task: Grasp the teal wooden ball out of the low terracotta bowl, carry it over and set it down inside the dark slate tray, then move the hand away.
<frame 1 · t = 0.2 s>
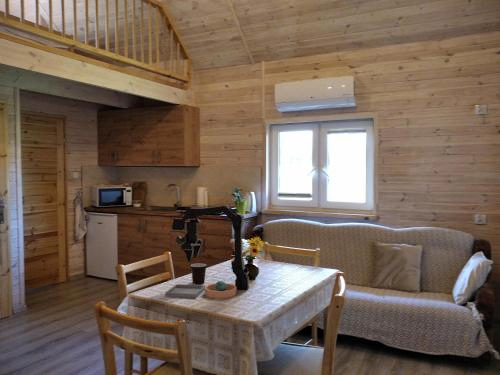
hand: (192, 259, 231), 14 cm above the table, fingers open, 9 cm apart
ball: (220, 286, 217), point 4 cm above the table, touching bowl
tray: (185, 292, 220), on the table
coffee mug: (199, 282, 240), on the table
bowl: (220, 293, 217), on the table
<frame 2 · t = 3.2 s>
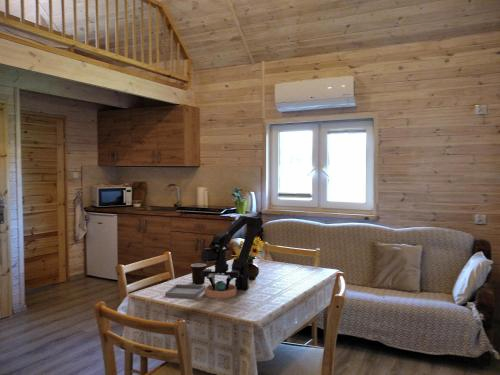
hand: (220, 290, 217), 2 cm above the table, fingers closed on ball, 6 cm apart
ball: (220, 286, 217), point 4 cm above the table, touching bowl, gripper
everything else where it was.
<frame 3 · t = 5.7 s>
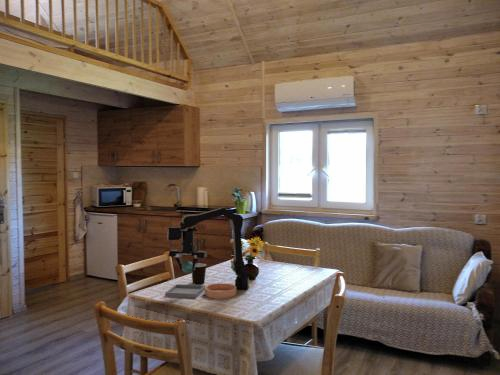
hand: (187, 270, 219), 11 cm above the table, fingers closed on ball, 6 cm apart
ball: (187, 267, 219), point 13 cm above the table, touching gripper
everything else where it was.
when the fingers open (3 cm above the table, at t = 8.2 s): ball drops 2 cm, resting on tray.
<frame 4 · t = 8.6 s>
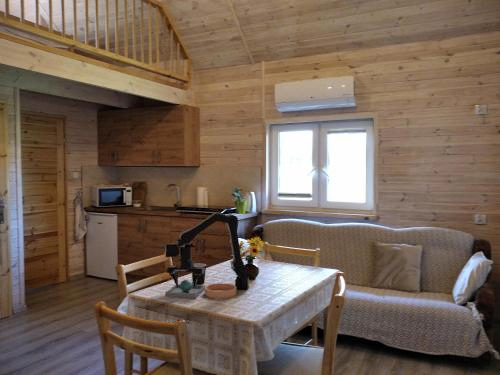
hand: (185, 286, 219), 3 cm above the table, fingers open, 9 cm apart
ball: (185, 286, 219), point 3 cm above the table, touching tray
everything else where it was.
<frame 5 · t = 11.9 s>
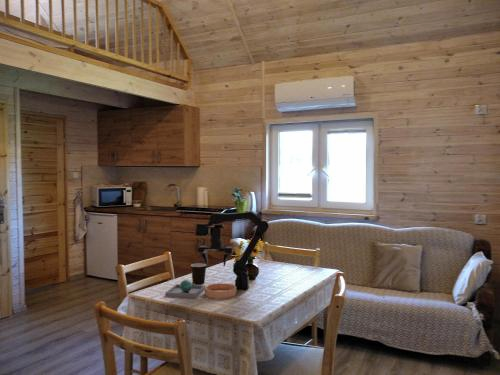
hand: (215, 265, 228), 12 cm above the table, fingers open, 9 cm apart
nothing on the table moved.
at the end: ball inside the target area on the tray (0.1 cm from its centre), point 3.5 cm above the tray's base; ball touching tray; the gripper is holding nothing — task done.
